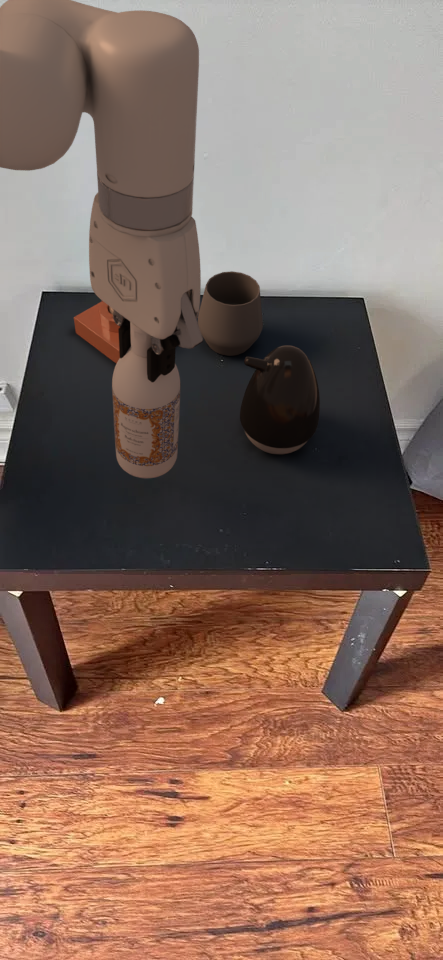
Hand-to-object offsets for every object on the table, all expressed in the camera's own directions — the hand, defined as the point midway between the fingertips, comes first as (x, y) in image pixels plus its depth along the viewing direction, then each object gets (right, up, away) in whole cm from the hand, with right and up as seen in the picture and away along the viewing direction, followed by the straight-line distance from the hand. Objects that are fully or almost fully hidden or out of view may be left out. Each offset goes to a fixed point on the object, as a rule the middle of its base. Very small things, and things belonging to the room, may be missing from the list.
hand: (147, 362), depth 74 cm
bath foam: (-1, -9, +12) cm, 15 cm away
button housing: (-7, +10, +37) cm, 39 cm away
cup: (+8, +9, +37) cm, 39 cm away
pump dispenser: (+14, -6, +26) cm, 31 cm away
